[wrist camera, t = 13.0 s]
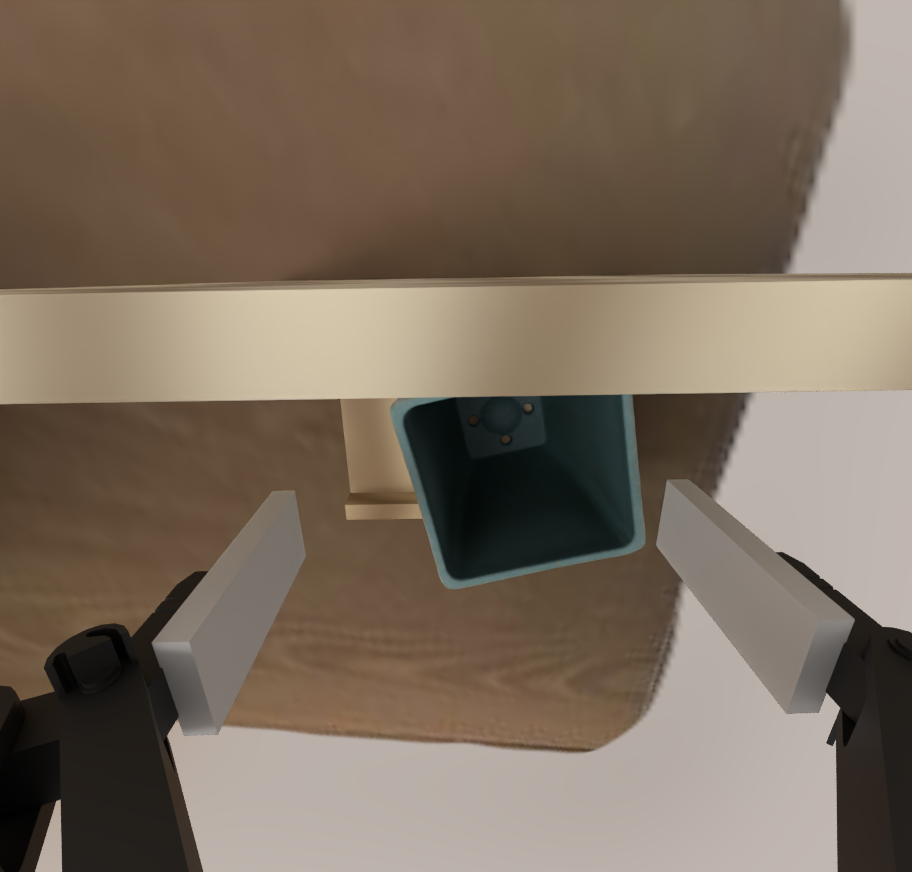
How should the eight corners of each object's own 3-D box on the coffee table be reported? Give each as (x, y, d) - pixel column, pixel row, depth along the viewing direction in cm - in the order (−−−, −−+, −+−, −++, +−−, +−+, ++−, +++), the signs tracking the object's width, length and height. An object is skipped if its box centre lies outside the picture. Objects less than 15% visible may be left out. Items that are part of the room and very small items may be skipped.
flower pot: (586, 464, 26) (649, 553, 18) (446, 495, 27) (443, 594, 19) (565, 320, 23) (629, 345, 15) (408, 358, 24) (384, 402, 16)
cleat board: (309, 479, 31) (21, 883, 10) (279, 280, 26) (-352, 300, 6) (642, 474, 31) (1015, 871, 10) (672, 274, 26) (1467, 270, 6)
